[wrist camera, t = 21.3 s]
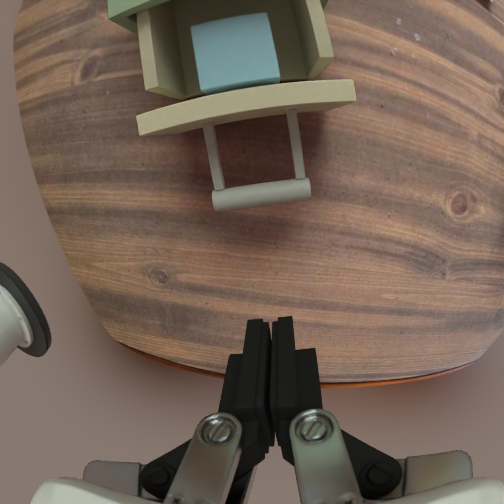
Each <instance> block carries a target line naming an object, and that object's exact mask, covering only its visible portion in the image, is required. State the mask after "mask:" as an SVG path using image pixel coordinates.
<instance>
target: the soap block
mask: <svg viewBox="0 0 504 504" xmlns="http://www.w3.org/2000/svg"><path fill="white" fill-rule="evenodd" d="M190 29H191V36H192V42H193V48H194V55H195V61H196V67H197V73H198V79H199V85H200V90H201V91H202V92H204V93H206V94H208V95H214V94H218V93H223V92H229V91H234V90H240V89H245V88H252V87H258V86H266V85H273V84H279V82H280V71H279V65H278V60H277V55H276V50H275V45H274V41H273V36H272V31H271V27H270V22H269V18H268V13H267V12H262V13H254V14H247V15H241V16H235V17H230V18H224V19H219V20H215V21H210V22H206V23H202V24H198V25H194V26H191V27H190Z"/></svg>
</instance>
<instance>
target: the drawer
mask: <svg viewBox="0 0 504 504" xmlns="http://www.w3.org/2000/svg"><path fill="white" fill-rule="evenodd" d="M262 12H267V13H268V18H269V22H270V27H271V31H272V36H273V41H274V45H275V50H276V55H277V60H278V65H279V71H280V82H281V81H290V80H302V79H315V78H316V77H317V76H318V75H319V74H320V73H321V72H322V71H323V70H324V69H325V67H326V66H327V65H328V64H329V63H330V62H331V61H332V59H333V58H334V53H333V48H332V44H331V40H330V35H329V31H328V27H327V23H326V20H325V16H324V12H323V9H322V5H321V2H320V0H170V1H167V2H164V3H161V4H158V5H155V6H153V7H150V8H147V9H145V10H142V11H140V12H137V13H136V14H137V26H138V36H139V46H140V55H141V63H142V70H143V78H144V85H145V90H146V91H149V92H153V93H157V94H161V95H164V96H168V97H171V98H175V99H179V100H184V99H187V98H191V97H195V96H200V95H204V94H206V93H204V92H202V91H201V90H200V85H199V79H198V73H197V67H196V61H195V55H194V48H193V42H192V36H191V29H190V27H191V26H194V25H198V24H202V23H206V22H210V21H215V20H219V19H224V18H230V17H235V16H241V15H247V14H254V13H262ZM356 101H357V100H356V94H355V88H354V82H353V80H319V81H304V82H292V83H282V84H273V85H266V86H258V87H252V88H245V89H240V90H234V91H229V92H223V93H218V94H214V95H209V96H205V97H200V98H196V99H192V100H188V101H184V102H180V103H177V104H173V105H169V106H166V107H163V108H159V109H156V110H153V111H150V112H146V113H143V114H140V115H137V116H136V118H137V124H138V129H139V135H140V136H147V135H159V134H173V133H182V132H186V131H190V130H195V129H199V128H203V131H204V137H205V142H206V148H207V153H208V158H209V163H210V169H211V174H212V179H213V184H214V189H215V190H214V191H213V192H212V203H213V207H214V210H215V211H216V212H221V211H228V210H235V209H242V208H249V207H256V206H264V205H272V204H280V203H288V202H296V201H305V200H311V186H310V181H309V178H306V177H305V169H304V161H303V153H302V146H301V138H300V131H299V125H298V118H297V113H301V112H313V111H327V110H332V109H335V108H338V107H341V106H344V105H347V104H350V103H353V102H356ZM282 114H286V117H287V123H288V130H289V136H290V143H291V150H292V157H293V165H294V172H295V178H296V179H290V180H282V181H274V182H266V183H259V184H252V185H245V186H238V187H232V188H226V189H225V183H224V177H223V172H222V166H221V161H220V156H219V150H218V145H217V139H216V133H215V128H214V125H218V124H223V123H229V122H234V121H240V120H246V119H252V118H259V117H266V116H274V115H282Z"/></svg>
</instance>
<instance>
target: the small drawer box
mask: <svg viewBox="0 0 504 504" xmlns="http://www.w3.org/2000/svg"><path fill="white" fill-rule="evenodd" d="M167 1H170V0H108V19H109V20H111V21H113V22H115V23H117V24H119V25H121V26H123V27H124V28H126V29H128V30H130V31H131V32H133V33H135V34H136V35H138V26H137V14H136V13H137V12H140V11H142V10H145V9H147V8H150V7H153V6H155V5H158V4H161V3H164V2H167ZM327 1H328V0H320V2H321V5H322V9H323V10H324V8H325V5H326V3H327Z"/></svg>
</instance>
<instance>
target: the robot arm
mask: <svg viewBox="0 0 504 504" xmlns="http://www.w3.org/2000/svg"><path fill="white" fill-rule="evenodd" d="M32 342H33V331H32V328H31V325H30V323H29V321H28V319H27V317H26V315H25V313H24V311H23V310H22V308H21V307H20V305H19V304H18V302H17V301H16V300H15V298H14V297H13V296H12V295H11V294H10V293H9V292H8V291H7V290H6V289H5V288H4V287H3V286H1V285H0V367H1V366H2V365H3V363H4V362H5V361H6V360H7V358H8V357H9V356H10V355H11V353H12V352H13V351H14V350H15V349H16V348H17V346H18V345H19V346H21V347H26V348H27V347H29V346H30V345H31V344H32ZM275 433H276V438H277V442H278V446H281V450H282V455H283V458H284V459H285V460H286V461H287V462H289V463H290V464H291V465H293V466H294V469H295V474H296V480H297V485H298V491H299V496H300V502H301V504H504V484H503V483H502V482H501V481H500V480H498V479H495V478H491V477H477V478H473V472H472V461H471V457H470V456H469V454H468V453H467V452H464V451H462V450H455V451H450V452H443V453H437V454H429V455H421V456H411V457H407V458H406V459H394V458H393V457H391V456H389V455H387V454H385V453H383V452H381V451H379V450H377V449H375V448H373V447H371V446H369V445H368V444H366V443H364V442H362V441H360V440H358V439H357V438H355V437H353V436H351V435H350V434H348V433H346V432H345V431H343V430H341V429H340V427H339V424H338V421H337V419H336V418H335V416H334V415H333V414H332V413H330V412H329V411H326V410H324V409H323V407H322V398H321V390H320V380H319V372H318V365H317V357H316V350H315V348H310V349H300V350H295V340H294V329H293V319H292V316H287V317H278V321H274V322H272V340H271V334H270V328H269V323H268V322H263V319H252V320H248V321H247V328H246V335H245V341H244V348H243V354H230V356H229V359H228V364H227V369H226V374H225V379H224V384H223V389H222V394H221V400H220V405H219V410H218V412H217V413H213V414H210V415H208V416H206V417H204V418H203V419H202V420H201V421H200V422H199V424H198V426H197V428H196V430H195V432H194V435H193V437H192V439H190V440H189V441H187V442H185V443H183V444H182V445H180V446H179V447H177V448H175V449H173V450H172V451H170V452H168V453H166V454H164V455H163V456H161V457H159V458H157V459H155V460H153V461H152V462H150V463H148V464H147V465H142V464H140V463H132V462H113V461H112V462H111V461H100V460H96V461H92V462H90V463H88V465H87V466H86V467H85V470H84V473H83V480H82V479H77V478H69V477H58V478H52V479H49V480H47V481H45V482H44V483H43V484H42V485H41V486H40V487H39V488H38V490H37V492H36V493H35V495H34V497H33V499H32V501H31V503H30V504H247V501H248V498H249V495H250V491H251V488H252V484H253V481H254V477H255V474H256V470H257V464H258V463H260V462H261V461H262V460H264V459H265V453H269V446H274V441H275Z"/></svg>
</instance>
